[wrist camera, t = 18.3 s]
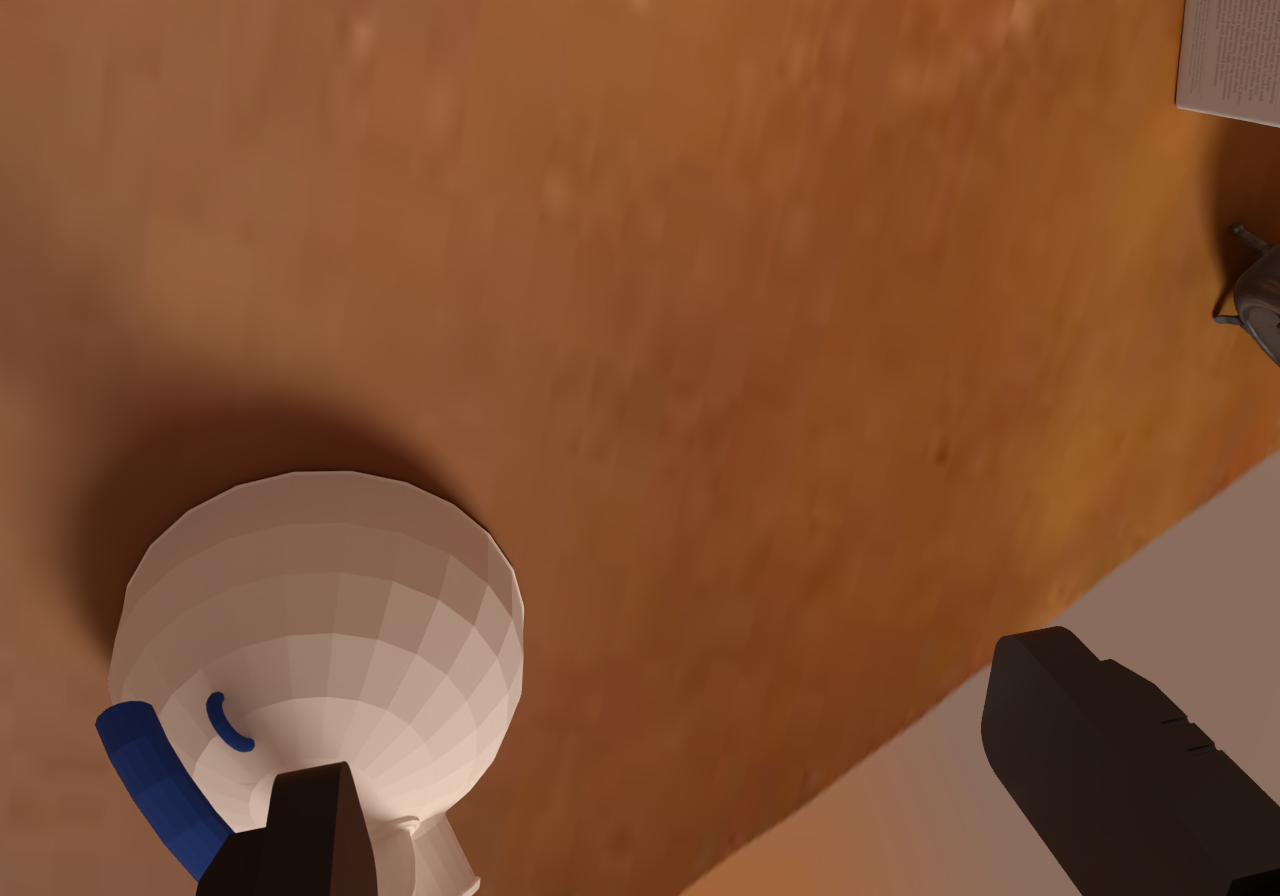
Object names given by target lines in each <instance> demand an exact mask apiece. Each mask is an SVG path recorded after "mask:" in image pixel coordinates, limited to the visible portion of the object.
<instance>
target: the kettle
mask: <svg viewBox="0 0 1280 896" xmlns="http://www.w3.org/2000/svg"><path fill="white" fill-rule="evenodd" d="M523 620H524V605H523V601H522V598H521V594H520V591H519V587H518V584H517V580H516V577H515V573H514V570H513V568H512V567H511V565H510V564H509V562H508V561H507V559H506V558H505V556H504V555H503V553H502V552H501V550H500V549H499V547H498V546H497V544H496V543H495V541H494V540H493V538H492V537H491V535H490V534H489V533H488V532H486V531H485V530H484V529H483V528H482V527H480V526H479V525H478V524H477V523H476V522H474V521H473V520H472V519H471V518H470V517H468V516H467V515H466V514H465V513H463V512H462V511H461V510H460V509H459V508H457V507H456V506H455V505H454V504H452V503H450V502H448V501H446V500H443V499H441V498H439V497H437V496H435V495H433V494H430V493H428V492H426V491H424V490H422V489H420V488H417V487H415V486H413V485H411V484H409V483H407V482H402V481H398V480H393V479H388V478H383V477H378V476H373V475H369V474H364V473H359V472H354V471H320V472H291V473H287V474H283V475H279V476H274V477H270V478H266V479H262V480H258V481H254V482H250V483H245V484H241V485H237V486H235V487H233V488H231V489H229V490H227V491H225V492H224V493H222V494H220V495H218V496H216V497H214V498H212V499H210V500H208V501H206V502H204V503H202V504H200V505H198V506H196V507H194V508H192V509H190V510H188V511H187V512H186V513H185V514H184V515H183V516H182V517H181V518H179V519H178V520H177V521H176V522H175V523H174V524H173V525H172V526H171V527H170V528H168V529H167V530H166V531H165V532H164V533H163V534H162V535H161V536H160V537H159V538H158V539H156V540H155V541H154V542H153V543H152V544H151V545H150V546H149V548H148V550H147V552H146V553H145V555H144V557H143V559H142V560H141V562H140V564H139V566H138V567H137V569H136V571H135V573H134V574H133V576H132V578H131V579H130V581H129V583H128V585H127V588H126V594H125V600H124V605H123V611H122V615H121V619H120V623H119V627H118V630H117V634H116V638H115V642H114V648H113V654H112V660H111V666H110V671H109V677H108V688H109V693H110V698H111V702H112V707H110V708H108V709H106V710H105V711H104V712H103V713H102V714H101V715H99V716H98V717H97V720H96V723H95V726H96V728H97V731H98V733H99V736H100V738H101V740H102V743H103V745H104V747H105V750H106V752H107V754H108V757H109V759H110V761H111V763H112V764H113V766H114V768H115V770H116V771H117V773H118V775H119V777H120V778H121V780H122V782H123V783H124V785H125V787H126V789H127V790H128V792H129V794H130V796H131V797H132V799H133V801H134V802H135V804H136V805H137V806H138V808H139V809H140V811H141V812H142V813H143V815H144V816H145V818H146V819H147V821H148V822H149V823H150V825H151V826H152V828H153V829H154V830H155V832H156V833H157V835H158V836H159V838H160V839H161V840H162V842H163V843H164V845H165V846H166V847H167V848H168V849H169V850H170V851H171V853H172V854H173V855H174V856H175V857H176V858H177V859H178V861H179V862H180V863H181V864H182V865H183V866H184V867H185V868H186V870H187V871H188V872H189V873H190V874H191V875H192V876H193V878H194V879H195V880H196V881H197V882H198V883H199V880H200V878H201V877H202V875H203V874H204V872H205V871H206V869H207V868H208V866H209V865H210V863H211V861H212V860H213V858H214V857H215V855H216V854H217V852H218V851H219V849H220V848H221V846H222V844H223V843H224V841H225V840H226V838H227V837H228V835H229V834H233V833H238V832H243V831H248V830H253V829H258V828H263V827H266V821H267V815H268V809H269V803H270V797H271V791H272V786H273V782H274V779H275V777H276V776H277V775H278V774H280V773H286V772H291V771H296V770H301V769H306V768H312V767H317V766H322V765H327V764H332V763H338V762H343V761H346V762H347V763H348V765H349V767H350V769H351V773H352V776H353V780H354V783H355V787H356V791H357V794H358V798H359V801H360V805H361V809H362V812H363V816H364V820H365V823H366V827H367V831H368V834H369V838H370V841H371V845H372V849H373V854H374V859H375V866H376V874H377V886H378V896H472V895H473V894H474V893H475V892H476V891H477V890H478V888H479V886H480V877H477V876H476V877H475V875H474V873H473V871H472V869H471V867H470V865H469V863H468V861H467V859H466V857H465V855H464V853H463V851H462V849H461V847H460V845H459V843H458V841H457V838H456V836H455V834H454V832H453V830H452V828H451V826H450V824H449V822H448V820H447V818H446V811H447V810H448V809H449V808H450V807H452V806H453V805H454V804H455V803H456V802H457V801H459V800H460V799H461V798H462V797H463V796H464V795H465V794H467V793H468V792H469V791H470V790H471V789H472V787H473V786H474V785H475V784H476V782H477V781H478V780H479V778H480V777H481V776H482V775H483V773H484V772H485V771H486V769H487V768H488V767H489V766H490V764H491V763H492V762H493V760H494V758H495V756H496V754H497V751H498V749H499V747H500V745H501V742H502V740H503V738H504V736H505V733H506V731H507V729H508V726H509V724H510V721H511V719H512V716H513V714H514V711H515V709H516V706H517V704H518V701H519V699H520V696H521V690H522V672H523Z"/></svg>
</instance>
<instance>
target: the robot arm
mask: <svg viewBox="0 0 1280 896" xmlns="http://www.w3.org/2000/svg"><path fill="white" fill-rule="evenodd" d="M981 735H982V741H983V746H984V750H985V753H986V756H987V758H988V761H989V763H990V765H991V767H992V769H993V771H994V772H995V774H996V775H997V777H998V778H999V780H1000V781H1001V782H1002V784H1003V785H1004V786H1005V788H1006V789H1007V791H1008V792H1009V794H1010V795H1011V796H1012V798H1013V799H1014V801H1015V802H1016V803H1017V805H1018V806H1019V808H1020V809H1021V810H1022V812H1023V813H1024V815H1025V816H1026V817H1027V819H1028V820H1029V822H1030V823H1031V824H1032V826H1033V827H1034V829H1035V830H1036V831H1037V833H1038V834H1039V836H1040V837H1041V838H1042V840H1043V841H1044V843H1045V844H1046V845H1047V847H1048V848H1049V850H1050V851H1051V852H1052V854H1053V855H1054V857H1055V858H1056V859H1057V861H1058V862H1059V864H1060V865H1061V866H1062V868H1063V869H1064V871H1065V872H1066V873H1067V875H1068V876H1069V878H1070V879H1071V880H1072V882H1073V883H1074V885H1075V886H1076V887H1077V889H1078V890H1079V891H1080V893H1081V894H1082V896H1280V807H1279V806H1278V805H1277V804H1276V803H1275V802H1274V801H1273V800H1272V799H1271V798H1270V797H1269V796H1268V795H1267V794H1266V793H1265V792H1264V791H1263V790H1262V789H1261V788H1260V787H1259V786H1258V785H1257V784H1256V783H1255V782H1254V781H1253V780H1252V779H1251V778H1250V777H1249V776H1248V775H1247V774H1246V773H1245V772H1244V771H1243V770H1242V769H1241V768H1240V767H1239V766H1238V765H1237V764H1236V763H1235V762H1234V761H1233V760H1232V759H1230V758H1229V757H1228V756H1227V755H1226V754H1225V753H1224V752H1223V751H1222V750H1220V751H1218V750H1217V749H1216V748H1215V743H1214V742H1213V741H1212V740H1211V739H1210V738H1209V737H1208V736H1207V735H1206V734H1205V733H1204V732H1203V731H1202V730H1201V729H1200V728H1199V727H1198V726H1197V725H1196V724H1195V723H1191V724H1190V723H1189V721H1188V719H1187V716H1186V715H1185V713H1183V711H1181V710H1180V709H1179V708H1178V707H1177V706H1176V705H1175V704H1174V703H1173V702H1172V701H1171V700H1170V699H1169V698H1168V697H1167V696H1166V695H1165V694H1164V693H1163V692H1162V691H1161V690H1160V689H1159V688H1158V687H1157V686H1156V685H1155V684H1154V683H1152V682H1150V681H1148V680H1147V679H1145V678H1143V677H1141V676H1140V675H1138V674H1136V673H1135V672H1133V671H1131V670H1129V669H1128V668H1126V667H1124V666H1122V665H1121V664H1119V663H1117V662H1116V661H1114V660H1112V659H1108V660H1104V661H1100V660H1099V659H1098V658H1097V657H1096V656H1095V655H1094V654H1093V653H1092V652H1091V651H1090V650H1089V649H1088V648H1087V647H1086V646H1085V645H1084V644H1083V643H1082V642H1081V641H1080V640H1079V639H1078V638H1077V637H1076V636H1075V635H1074V634H1073V633H1072V632H1071V631H1070V630H1068V629H1066V628H1064V627H1061V626H1055V627H1050V628H1045V629H1039V630H1034V631H1029V632H1024V633H1019V634H1014V635H1008V636H1003V637H1002V638H1000V640H999V641H998V642H997V644H996V647H995V651H994V657H993V662H992V667H991V673H990V678H989V684H988V689H987V695H986V700H985V705H984V711H983V716H982V722H981ZM196 896H378V886H377V874H376V866H375V859H374V854H373V849H372V845H371V841H370V838H369V834H368V831H367V827H366V823H365V820H364V816H363V812H362V809H361V805H360V801H359V798H358V794H357V791H356V787H355V783H354V780H353V776H352V773H351V769H350V767H349V765H348V763H347V762H346V761H343V762H338V763H332V764H327V765H322V766H317V767H312V768H306V769H301V770H296V771H291V772H286V773H280V774H278V775H277V776H276V777H275V779H274V782H273V786H272V791H271V797H270V803H269V809H268V815H267V821H266V827H263V828H258V829H253V830H248V831H243V832H238V833H233V834H229V835H228V837H227V838H226V840H225V841H224V843H223V844H222V846H221V848H220V849H219V851H218V852H217V854H216V855H215V857H214V858H213V860H212V861H211V863H210V865H209V866H208V868H207V869H206V871H205V872H204V874H203V875H202V877H201V878H200V880H199V883H198V887H197V892H196Z"/></svg>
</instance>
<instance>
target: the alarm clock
mask: <svg viewBox="0 0 1280 896" xmlns="http://www.w3.org/2000/svg"><path fill="white" fill-rule="evenodd" d="M1230 232H1231V233H1232V234H1233V235H1237V236H1238V237H1240V238H1241V239H1242V240H1243V241H1244V242H1245V244H1246V245H1247V246H1248V247H1249V248H1250V249H1251V250H1252V251H1253V252H1255V253H1256V254H1257V255H1258V256H1259V257H1260V259H1259V260H1258V261H1257V262H1256V263H1254V264H1253V265H1252V266H1251V267H1250V268H1248V269H1247V270H1246V271H1245V272H1244V273H1243V274H1242V275H1241V276H1240V277H1239V278H1238V280H1237V282H1236V284H1235V288H1234V303H1235V307H1236V311H1237V313H1238V315H1237V316H1229V315H1220V316H1217V317H1215V318H1214V321H1215V322H1217V323H1220V324H1225V323H1228V324H1234V325H1240V326H1241V327H1242V328H1243V329H1245V331H1246V332H1247V333H1249V334H1250V335H1251V336H1252V338H1253V339H1254V340H1255V341H1256V343H1257V344H1258V345H1259V346H1260V347H1261V349H1262V350H1263V351H1264V352H1265V353H1266V354H1267V355H1268V356H1269V357H1270V358H1271V359H1272V360H1273V361H1274V362H1275V363H1276V364H1277V365H1278V366H1279V367H1280V243H1279V244H1277V245H1276V246H1271V245H1269V244H1268V243H1267V242H1265V241H1264V240H1262V239H1261V238H1259V237H1257V236H1255V235H1253V234H1252V233H1250V232H1248V231H1246V230H1244V227H1243V225H1242V224H1240V223H1236V224H1233V225H1232V226H1231V228H1230Z"/></svg>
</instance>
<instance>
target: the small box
mask: <svg viewBox="0 0 1280 896" xmlns="http://www.w3.org/2000/svg"><path fill="white" fill-rule="evenodd" d="M1176 107H1177V108H1179V109H1185V110H1191V111H1196V112H1201V113H1207V114H1212V115H1218V116H1223V117H1228V118H1234V119H1239V120H1244V121H1249V122H1254V123H1259V124H1265V125H1269V126H1274V127H1279V128H1280V0H1186V5H1185V14H1184V25H1183V34H1182V44H1181V53H1180V61H1179V72H1178V81H1177V93H1176Z"/></svg>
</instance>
